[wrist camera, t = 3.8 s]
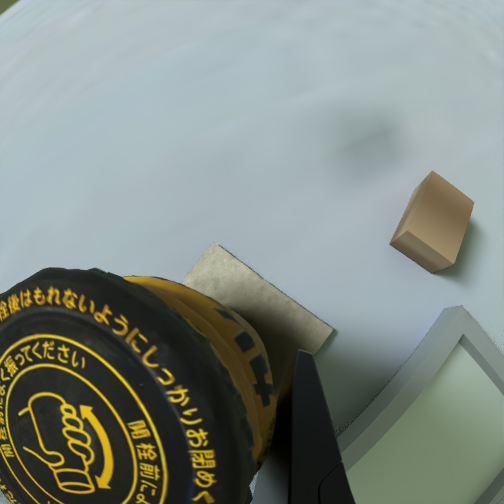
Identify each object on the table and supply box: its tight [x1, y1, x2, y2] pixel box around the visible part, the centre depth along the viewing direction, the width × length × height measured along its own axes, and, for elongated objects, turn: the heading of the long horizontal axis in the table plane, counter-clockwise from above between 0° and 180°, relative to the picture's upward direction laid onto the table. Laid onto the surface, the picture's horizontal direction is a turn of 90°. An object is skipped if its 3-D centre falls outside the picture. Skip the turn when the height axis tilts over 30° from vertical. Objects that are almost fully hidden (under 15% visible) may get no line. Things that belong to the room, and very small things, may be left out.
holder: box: [337, 305, 504, 504], centre depth 12 cm, size 13×13×2 cm
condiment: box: [0, 242, 333, 504], centre depth 9 cm, size 7×8×12 cm
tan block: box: [390, 171, 474, 274], centre depth 15 cm, size 4×3×2 cm
